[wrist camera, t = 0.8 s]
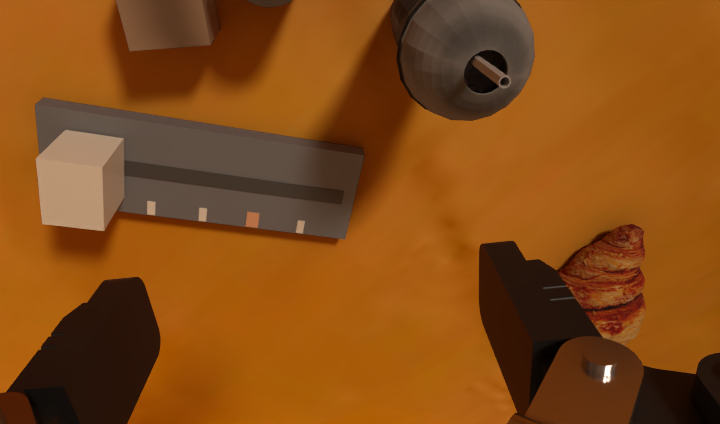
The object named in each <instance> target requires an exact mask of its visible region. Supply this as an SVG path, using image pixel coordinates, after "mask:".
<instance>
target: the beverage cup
mask: <svg viewBox="0 0 720 424" xmlns="http://www.w3.org/2000/svg"><path fill="white" fill-rule="evenodd" d="M391 24H392V29H393V33H394V37H395V40H396V43H397V46H398V51H397V64H398V69H399V74H400V79H401V81H402V83H403V85H404V86H405V88H406V90H407V91H408V93H409V95H410V97H412V98H413V99H414V100H415V101H416V102H417V103H419V104H420V105H421V106H422V107H423V108H425V109H427V110H429V111H430V112H432V113H435V114H437V115H440V116H442V117H445V118H448V119H450V120H467V121H473V120H477V119H480V118H484V117H488V116H491V115H493V114H494V113H496V112H498V111H500V110H501V109H503V108H505V107H506V106H507V105H508V104H509V103H510V102H511V101H512V100H513V99H514V98H515V97H516V96H517V95H518V94H519V93H520V92H521V90H522V89H523V87H524V85H525V83H526V81H527V80H528V78H529V76H530V73H531V69H532V65H533V61H534V57H535V53H534V36H533V31H532V29H531V26H530V24H529V22H528V19H527V17H526V14H525V13H524V11H523V10H522V8H521V6H520V4H519V3H518V2H517V1H516V0H394V2H393V4H392V8H391Z"/></svg>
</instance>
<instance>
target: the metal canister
mask: <svg viewBox="0 0 720 424" xmlns="http://www.w3.org/2000/svg"><path fill="white" fill-rule="evenodd" d="M247 1H249V2H250V3H253V4H255V5H258V6H263V7H277V6H281V5H284V4H287V3H289V2H291V1H292V0H247Z"/></svg>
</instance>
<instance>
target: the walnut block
mask: <svg viewBox="0 0 720 424" xmlns="http://www.w3.org/2000/svg"><path fill="white" fill-rule="evenodd" d="M116 3H117V6H118V10H119V14H120V18H121V21H122V25H123V29H124V32H125V36H126V40H127V43H128V47H129V51H140V50H153V49H167V48H180V47H193V46H207V45H211V44H212V42H213V40H214V39H215V37H216V36H217V34H218V32H219V31H220V24H219V18H218V13H217V7H216V2H215V0H116Z"/></svg>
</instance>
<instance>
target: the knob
mask: <svg viewBox="0 0 720 424" xmlns="http://www.w3.org/2000/svg"><path fill="white" fill-rule="evenodd" d="M36 164H37V175H38V185H39V196H40V206H41V217H42V224H47V225H55V226H64V227H73V228H81V229H90V230H98V231H104V230H105V229H106V227H107V225H108V224H109V222H110V220H111V219H112V217H113V215H114V214H115V212H116V210H117V209H118V207H119V205H120V204H121V202H122V200H123V199H124V138H118V137H111V136H105V135H98V134H91V133H84V132H78V131H71V130H65V131H64V132H63V133H62V134H61V135H60V136H59V137H57V138H56V139H55V140H54V141H53V142H52V143H51V144H50V145H49V146H48V147H47V148H46V149H45V150H44V151H43V152H42V153H41V154H40V155H39V156H38V157H37V158H36Z"/></svg>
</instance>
